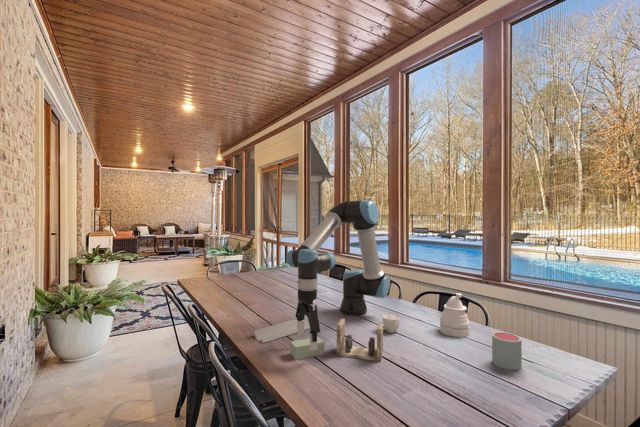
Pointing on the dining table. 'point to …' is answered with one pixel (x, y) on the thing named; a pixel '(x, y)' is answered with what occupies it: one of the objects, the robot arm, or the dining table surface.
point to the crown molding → (278, 330)
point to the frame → (359, 352)
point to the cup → (391, 322)
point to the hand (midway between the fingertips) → (306, 343)
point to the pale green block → (305, 348)
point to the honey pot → (455, 318)
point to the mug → (506, 350)
